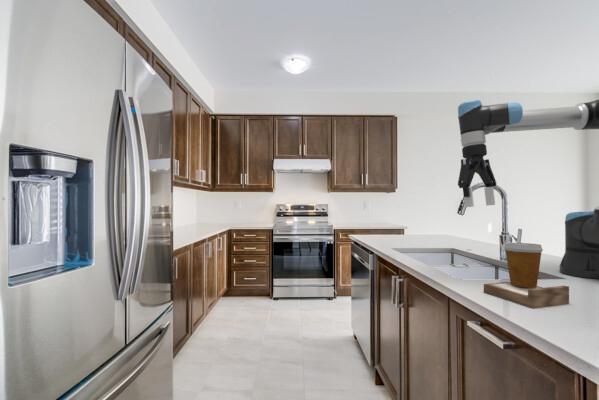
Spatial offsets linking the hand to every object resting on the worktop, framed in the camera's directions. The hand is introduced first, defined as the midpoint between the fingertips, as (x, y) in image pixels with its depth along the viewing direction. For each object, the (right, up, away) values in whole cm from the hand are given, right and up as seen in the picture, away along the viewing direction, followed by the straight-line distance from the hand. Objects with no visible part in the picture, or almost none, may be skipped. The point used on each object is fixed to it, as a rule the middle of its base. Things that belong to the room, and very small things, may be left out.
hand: (480, 206), depth 114 cm
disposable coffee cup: (+2, -23, -19) cm, 29 cm away
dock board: (+1, -25, -21) cm, 33 cm away
